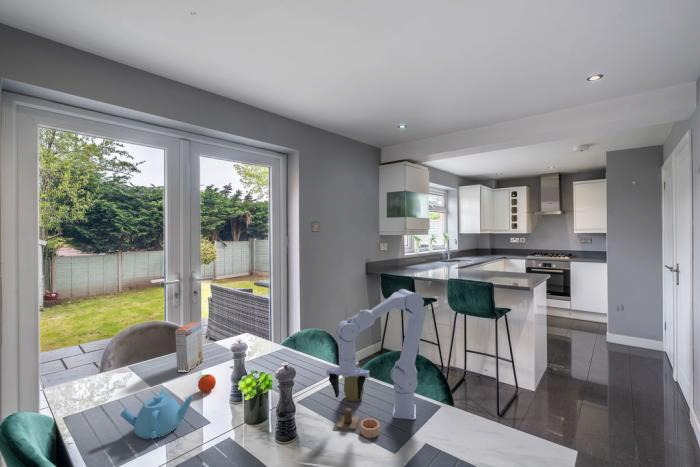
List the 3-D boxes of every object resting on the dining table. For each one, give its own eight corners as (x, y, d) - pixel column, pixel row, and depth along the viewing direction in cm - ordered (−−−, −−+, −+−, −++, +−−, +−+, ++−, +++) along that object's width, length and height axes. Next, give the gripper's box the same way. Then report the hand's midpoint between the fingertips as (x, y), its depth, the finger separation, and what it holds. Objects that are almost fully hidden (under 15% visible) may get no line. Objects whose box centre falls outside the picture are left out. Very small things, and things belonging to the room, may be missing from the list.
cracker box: (192, 361, 172) (191, 321, 171) (203, 361, 171) (202, 321, 171) (175, 373, 158) (174, 329, 157) (187, 373, 157) (186, 329, 157)
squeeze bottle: (362, 404, 125) (361, 357, 125) (341, 403, 126) (340, 356, 126) (365, 394, 133) (364, 350, 132) (346, 392, 134) (345, 349, 134)
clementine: (192, 394, 136) (191, 377, 136) (203, 386, 143) (202, 370, 143) (209, 396, 134) (208, 379, 134) (219, 388, 141) (219, 371, 141)
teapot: (159, 412, 124) (158, 382, 123) (195, 420, 118) (194, 389, 118) (118, 436, 109) (117, 403, 109) (157, 447, 103) (155, 412, 103)
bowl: (362, 426, 111) (362, 417, 111) (380, 428, 110) (380, 419, 110) (359, 437, 105) (359, 428, 105) (378, 439, 104) (377, 430, 104)
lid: (341, 417, 116) (341, 404, 116) (359, 419, 115) (358, 405, 115) (336, 428, 110) (336, 414, 110) (355, 430, 108) (355, 416, 108)
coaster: (338, 416, 118) (338, 415, 117) (363, 418, 116) (363, 417, 116) (332, 431, 109) (332, 430, 109) (358, 434, 107) (358, 433, 107)
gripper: (323, 360, 109) (324, 401, 109) (366, 363, 106) (367, 404, 106) (328, 352, 116) (330, 390, 116) (369, 354, 113) (370, 394, 113)
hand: (348, 396), depth 112 cm, fingers open, 7 cm apart
